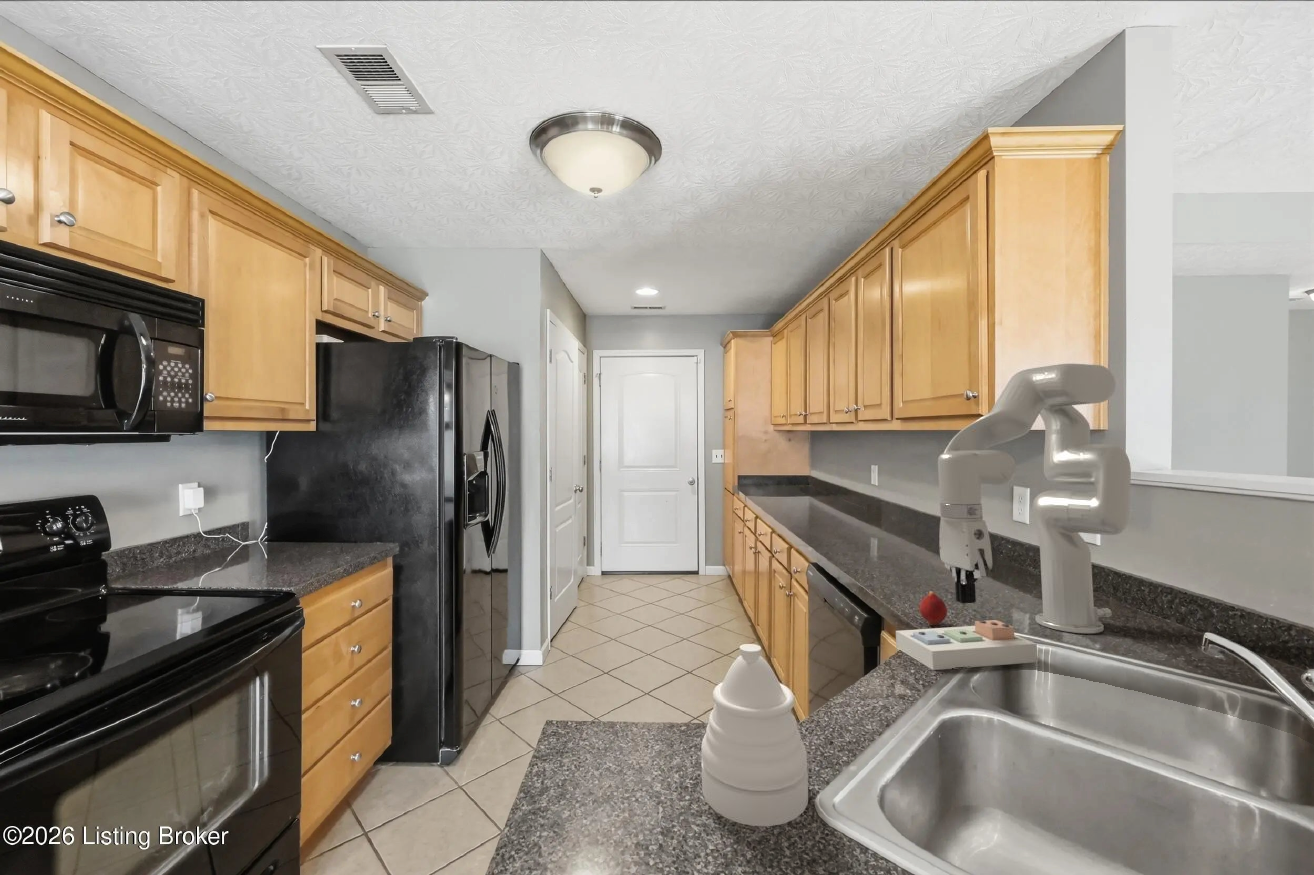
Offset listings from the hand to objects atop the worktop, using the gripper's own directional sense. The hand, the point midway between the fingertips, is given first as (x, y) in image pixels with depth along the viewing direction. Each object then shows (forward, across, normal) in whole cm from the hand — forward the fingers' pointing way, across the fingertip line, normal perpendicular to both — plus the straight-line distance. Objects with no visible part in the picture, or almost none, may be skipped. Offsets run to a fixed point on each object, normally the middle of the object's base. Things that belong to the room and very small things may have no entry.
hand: (966, 601), depth 107 cm
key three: (+8, 0, -6) cm, 10 cm away
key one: (+9, 0, +1) cm, 9 cm away
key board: (+10, 0, +1) cm, 11 cm away
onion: (+11, +18, -5) cm, 21 cm away
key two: (+9, 0, +8) cm, 12 cm away
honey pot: (+10, -36, +56) cm, 67 cm away
